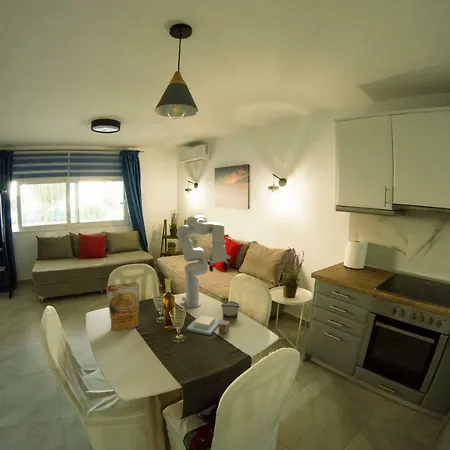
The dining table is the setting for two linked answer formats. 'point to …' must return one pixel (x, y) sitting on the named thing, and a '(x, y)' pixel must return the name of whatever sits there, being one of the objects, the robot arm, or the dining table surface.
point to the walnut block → (224, 327)
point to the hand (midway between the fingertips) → (218, 270)
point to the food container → (230, 310)
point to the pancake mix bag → (123, 305)
